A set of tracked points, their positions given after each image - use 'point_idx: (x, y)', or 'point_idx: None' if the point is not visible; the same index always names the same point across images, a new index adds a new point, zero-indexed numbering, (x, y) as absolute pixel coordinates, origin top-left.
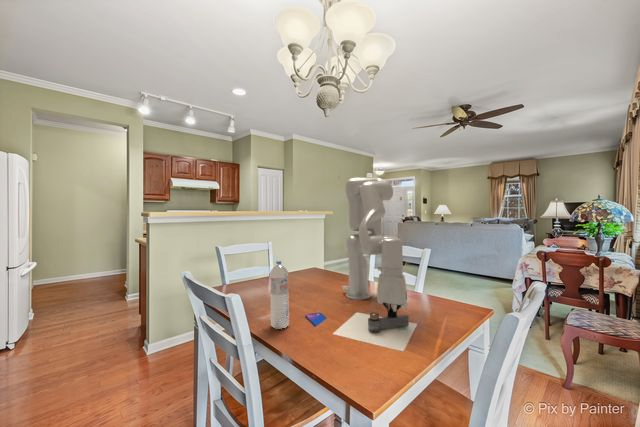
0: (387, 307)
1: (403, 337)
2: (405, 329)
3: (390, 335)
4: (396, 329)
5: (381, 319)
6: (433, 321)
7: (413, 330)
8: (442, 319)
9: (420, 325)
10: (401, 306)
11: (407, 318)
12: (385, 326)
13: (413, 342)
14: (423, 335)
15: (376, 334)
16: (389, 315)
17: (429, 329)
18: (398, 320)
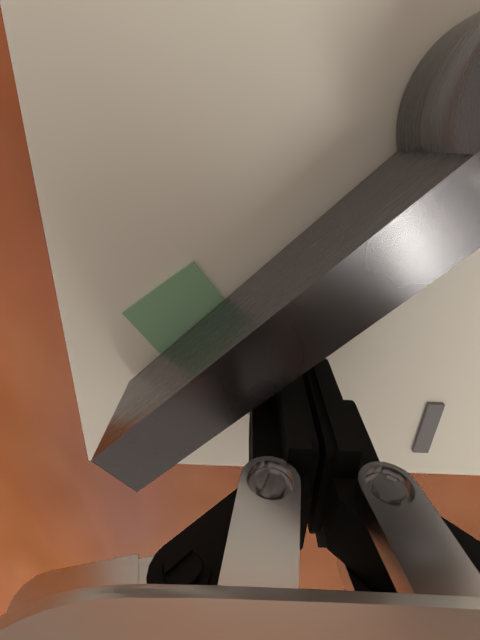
0: (411, 511)
1: (93, 91)
2: (138, 308)
3: (255, 72)
4: (226, 276)
5: (460, 175)
6: (42, 551)
7: (66, 325)
8: (7, 587)
9: (95, 476)
10: (133, 582)
11: (110, 432)
12: (350, 205)
13: (24, 144)
14: (9, 330)
15: (444, 4)
16: (337, 404)
17: (15, 442)
18: (202, 353)
